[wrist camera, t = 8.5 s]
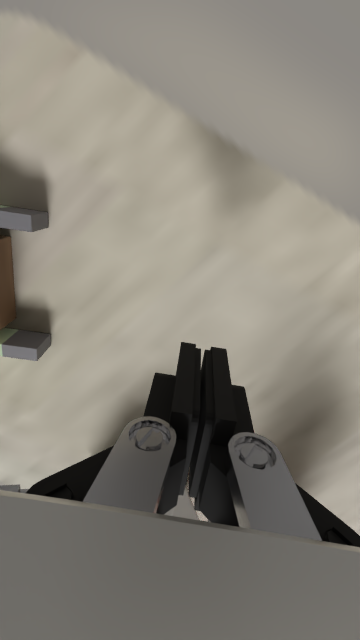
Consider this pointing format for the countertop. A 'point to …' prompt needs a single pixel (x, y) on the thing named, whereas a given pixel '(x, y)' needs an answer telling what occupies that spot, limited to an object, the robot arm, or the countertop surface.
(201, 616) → the robot arm
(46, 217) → the grey blocks
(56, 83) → the countertop surface
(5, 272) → the walnut block
